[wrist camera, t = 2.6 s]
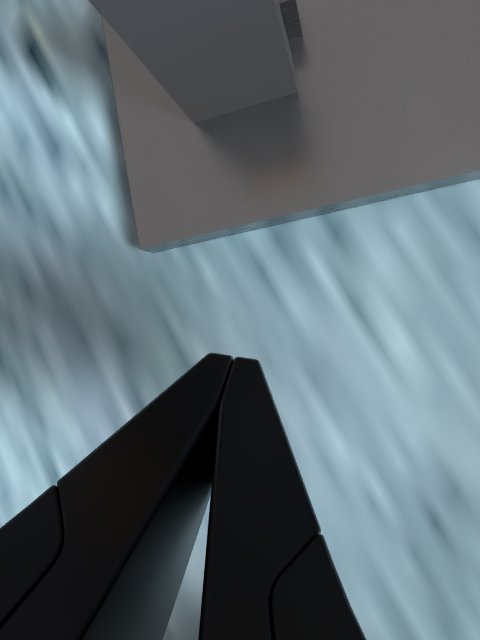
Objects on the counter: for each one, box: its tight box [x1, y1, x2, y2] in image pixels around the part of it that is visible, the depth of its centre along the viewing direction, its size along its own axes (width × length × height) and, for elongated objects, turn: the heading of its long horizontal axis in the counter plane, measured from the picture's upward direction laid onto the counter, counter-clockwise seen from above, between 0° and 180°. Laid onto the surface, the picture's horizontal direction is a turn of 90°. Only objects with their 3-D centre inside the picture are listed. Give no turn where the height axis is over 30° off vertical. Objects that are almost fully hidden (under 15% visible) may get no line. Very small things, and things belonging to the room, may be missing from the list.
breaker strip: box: [101, 0, 480, 253], centre depth 15 cm, size 11×22×4 cm, turn 100°
